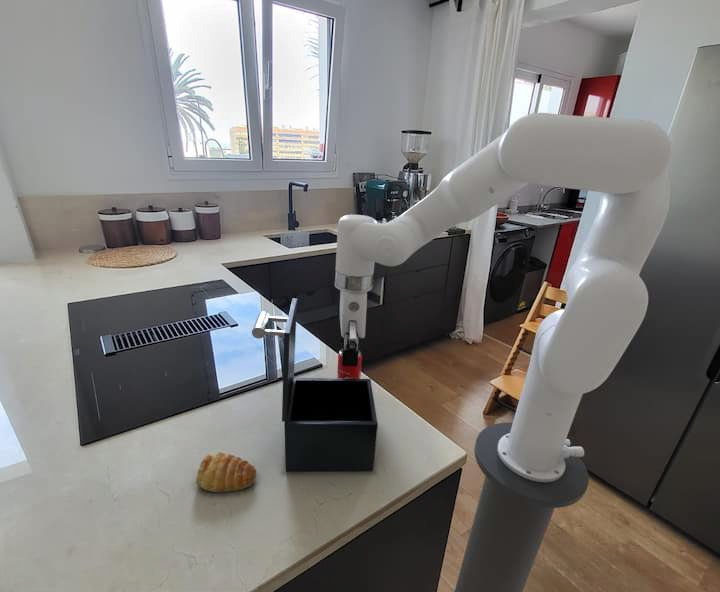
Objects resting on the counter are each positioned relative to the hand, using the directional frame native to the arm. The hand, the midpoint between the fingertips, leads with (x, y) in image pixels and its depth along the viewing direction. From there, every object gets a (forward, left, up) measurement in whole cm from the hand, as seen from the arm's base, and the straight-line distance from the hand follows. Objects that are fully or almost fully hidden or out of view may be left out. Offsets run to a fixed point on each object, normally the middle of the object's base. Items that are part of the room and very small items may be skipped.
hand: (348, 353), depth 85 cm
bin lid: (+11, +15, +8) cm, 20 cm away
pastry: (+22, +23, -12) cm, 34 cm away
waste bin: (+4, +15, -12) cm, 20 cm away
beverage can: (0, 0, -12) cm, 12 cm away
